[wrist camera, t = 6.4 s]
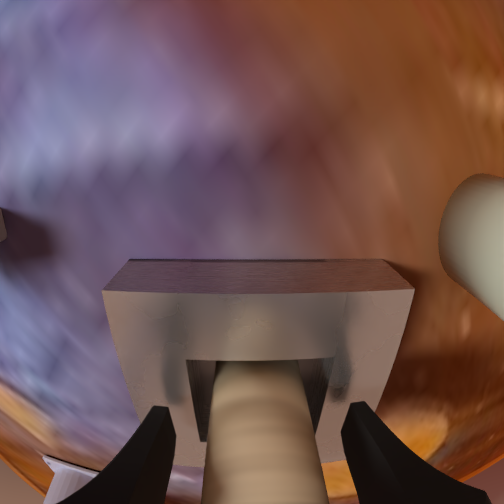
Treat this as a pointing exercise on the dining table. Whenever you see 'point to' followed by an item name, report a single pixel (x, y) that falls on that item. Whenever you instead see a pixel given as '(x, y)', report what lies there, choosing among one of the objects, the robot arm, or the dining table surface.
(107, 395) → the dining table surface
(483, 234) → the pale green rounded block
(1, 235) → the lighter
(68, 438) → the dining table surface
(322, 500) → the oak peg
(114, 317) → the beige square frame
